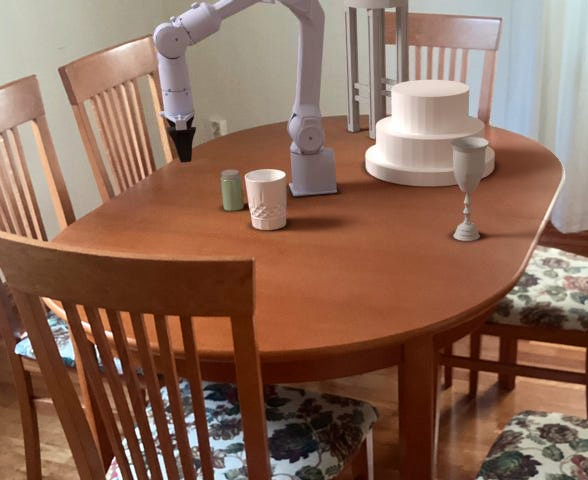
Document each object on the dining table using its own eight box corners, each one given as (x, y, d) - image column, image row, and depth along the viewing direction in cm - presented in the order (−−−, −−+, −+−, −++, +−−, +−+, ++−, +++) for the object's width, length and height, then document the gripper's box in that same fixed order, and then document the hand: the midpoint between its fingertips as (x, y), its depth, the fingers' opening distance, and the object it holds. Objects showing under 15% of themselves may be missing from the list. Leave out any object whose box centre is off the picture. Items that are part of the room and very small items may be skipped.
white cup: (297, 222, 184) (294, 173, 178) (272, 234, 178) (268, 184, 173) (266, 215, 187) (262, 166, 182) (241, 226, 182) (236, 177, 176)
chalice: (473, 245, 172) (476, 150, 163) (441, 238, 175) (443, 144, 166) (491, 233, 177) (495, 140, 168) (460, 226, 181) (462, 135, 171)
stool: (382, 120, 251) (380, -20, 233) (419, 131, 241) (420, -14, 223) (337, 130, 242) (331, -14, 224) (373, 142, 232) (370, -8, 214)
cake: (512, 179, 205) (517, 98, 196) (382, 191, 199) (380, 108, 190) (471, 143, 230) (473, 70, 221) (354, 153, 224) (351, 77, 215)
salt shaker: (243, 203, 194) (239, 168, 190) (244, 209, 190) (241, 174, 186) (222, 205, 193) (218, 169, 189) (224, 211, 189) (220, 176, 185)
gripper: (155, 81, 187) (164, 148, 194) (155, 98, 175) (166, 168, 182) (190, 79, 189) (198, 145, 196) (193, 95, 177) (202, 165, 184)
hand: (185, 156), depth 189 cm, fingers open, 7 cm apart
